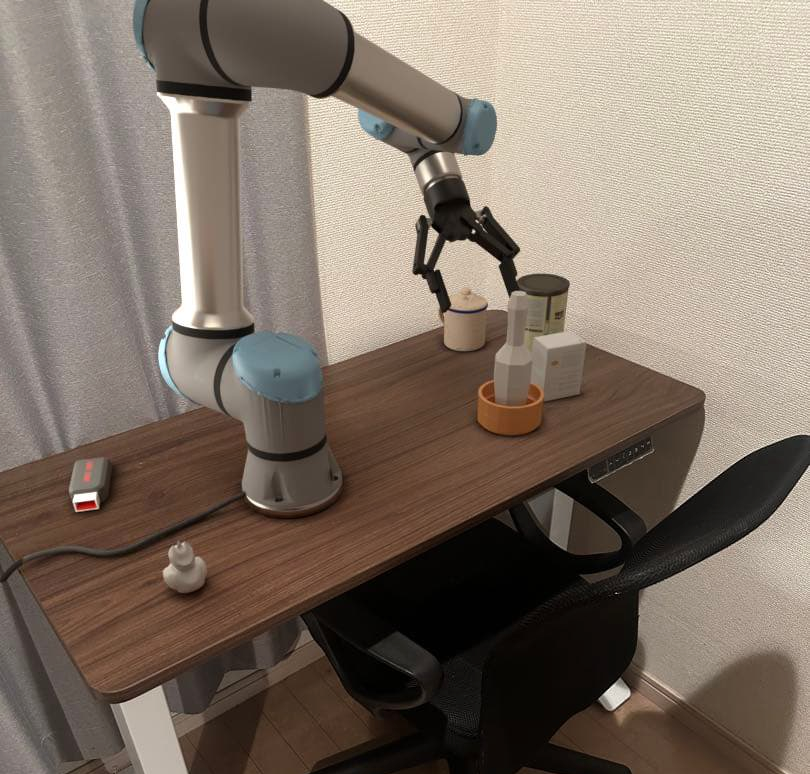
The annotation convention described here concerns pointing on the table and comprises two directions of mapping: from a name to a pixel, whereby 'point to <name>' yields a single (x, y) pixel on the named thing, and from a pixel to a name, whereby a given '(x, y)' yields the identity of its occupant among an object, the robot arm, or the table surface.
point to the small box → (558, 364)
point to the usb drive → (90, 483)
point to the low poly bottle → (514, 357)
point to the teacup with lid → (464, 321)
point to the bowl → (509, 411)
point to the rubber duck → (184, 569)
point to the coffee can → (544, 305)
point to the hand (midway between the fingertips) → (481, 302)
